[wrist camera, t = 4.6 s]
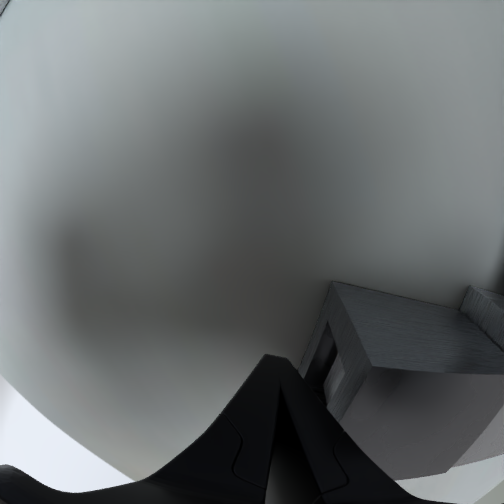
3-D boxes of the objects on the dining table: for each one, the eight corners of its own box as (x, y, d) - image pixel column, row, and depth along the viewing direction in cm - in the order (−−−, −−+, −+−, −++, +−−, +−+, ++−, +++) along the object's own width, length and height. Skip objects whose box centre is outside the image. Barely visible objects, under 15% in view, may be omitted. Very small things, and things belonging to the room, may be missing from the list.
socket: (458, 309, 10) (523, 374, 6) (410, 397, 11) (445, 472, 7) (331, 280, 10) (372, 365, 5) (292, 385, 11) (297, 481, 7)
